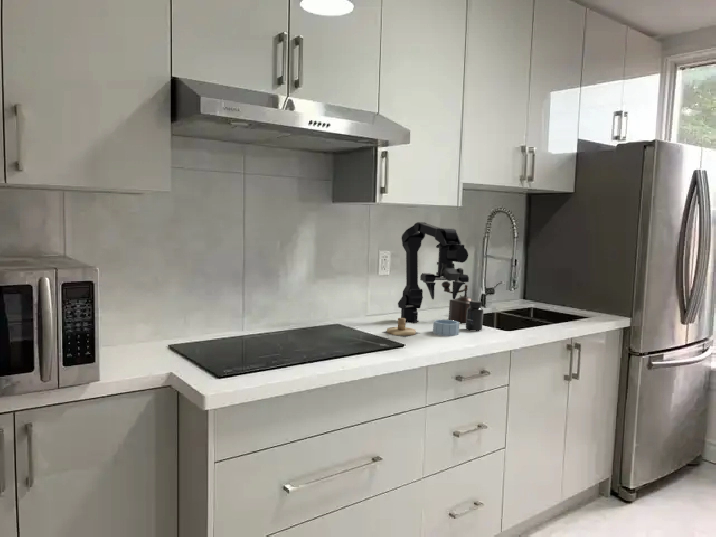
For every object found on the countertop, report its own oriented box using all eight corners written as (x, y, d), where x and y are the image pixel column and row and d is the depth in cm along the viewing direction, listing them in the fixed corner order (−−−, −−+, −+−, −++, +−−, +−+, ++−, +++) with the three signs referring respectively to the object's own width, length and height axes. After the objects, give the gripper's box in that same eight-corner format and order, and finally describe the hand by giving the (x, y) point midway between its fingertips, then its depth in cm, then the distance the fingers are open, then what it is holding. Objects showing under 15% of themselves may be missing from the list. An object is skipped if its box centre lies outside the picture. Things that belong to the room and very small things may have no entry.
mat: (381, 333, 213) (381, 332, 213) (397, 330, 221) (397, 328, 221) (404, 338, 206) (405, 336, 206) (420, 334, 214) (420, 333, 214)
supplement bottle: (465, 330, 226) (466, 301, 225) (465, 327, 233) (467, 299, 232) (482, 332, 225) (483, 303, 224) (482, 328, 231) (484, 300, 230)
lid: (381, 332, 213) (381, 318, 212) (397, 328, 221) (398, 314, 221) (405, 337, 206) (405, 322, 205) (421, 333, 214) (421, 318, 214)
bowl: (428, 334, 216) (428, 321, 215) (441, 330, 224) (441, 318, 223) (450, 338, 210) (451, 325, 209) (463, 334, 217) (463, 322, 217)
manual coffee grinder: (464, 318, 256) (466, 280, 255) (480, 322, 246) (483, 282, 245) (437, 320, 249) (439, 280, 247) (453, 324, 239) (455, 283, 237)
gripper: (432, 261, 206) (430, 302, 208) (476, 262, 212) (474, 302, 213) (420, 259, 217) (418, 298, 218) (463, 259, 222) (460, 298, 224)
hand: (443, 299), depth 218 cm, fingers open, 9 cm apart
